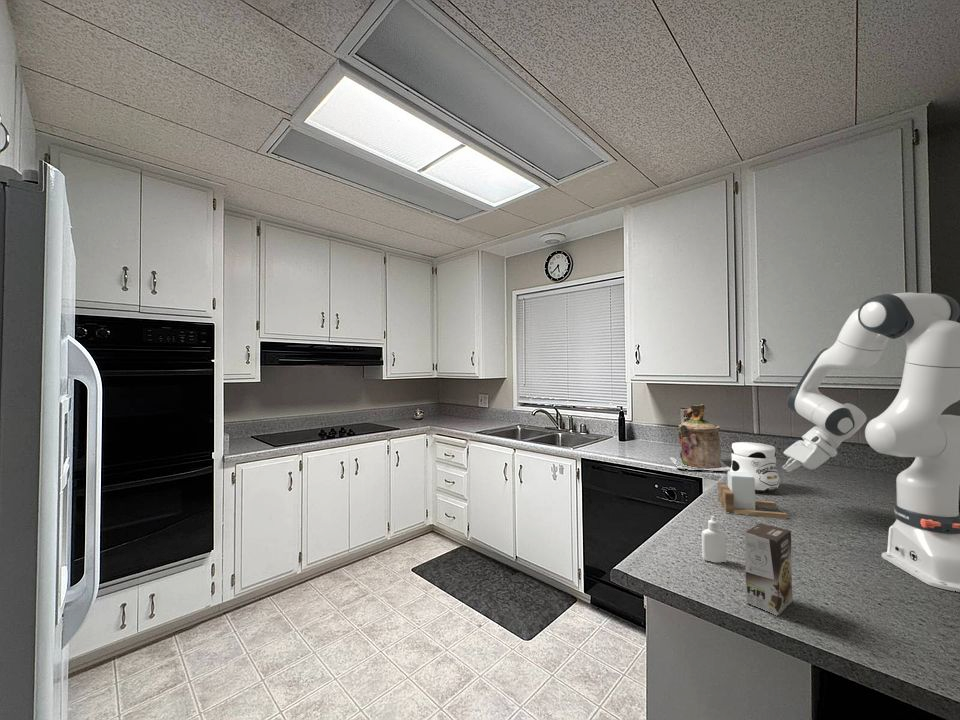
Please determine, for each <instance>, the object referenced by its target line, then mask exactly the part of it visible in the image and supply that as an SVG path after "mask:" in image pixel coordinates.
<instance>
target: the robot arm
mask: <svg viewBox="0 0 960 720" xmlns="http://www.w3.org/2000/svg"><path fill="white" fill-rule="evenodd" d="M959 316H960V305H959V303H958V302H957V300H955V299H954V298H953V297H952V296H949V295H947V294H944V293H937V292H926V293H924V292H911V291H909V292H897V293H887V294H886V293H883V294H878V295H876V296H875V295H874V296H873V297H870V298H868V299H866V300H864V301H863V302H862V303H861V305H860V306H859V308H857V309H855V310H854V311H852V313H851V314H850V315H849V316H848V318H847V320H845V323H843V326H842V327H841V330H840V331H839V333H838V336H837V338H836V340H835V341H834V343H833V345H831V346H830V347H827V348H823V349H822V350H820V351H819V353H817V355H816V356H815V357H814V358H813V360H812V362H810V364H809V366H808V367H807V369H806V370H805V373H803V375H802V377H801V379H800V380H799V382H798V383H797V385H796V386H795V387H794V388H793V389H792V390H791V391H790V393H788V395H787V397H786V404H787V408H788V409H789V411H791V412H792V413H794V414H797V415H798V416H801V417H802V418H803V419H806V420H808V421H809V422H811V423H812V424H814V425H815V426H813V427H812V428H810V429H809V430H808V431H807V432H806V433H804V434H803V435H802V436H801V439H802V440H800V439H799V440H796V441H795V442H794V443H792V444H791V445H790V446H789V447H787V448H786V449H785V450H784V451H783V455H785V456H786V457H787V458H788V459H787V461H786V463H785V464H784V465H782V469H783V470H784V471H786V472H788V473H791V472H792V471H794V470H795V469H797V468H800V467H801V466H803V467H804V468H806V469H809V470H811V471H812V470H815V469H817V468H818V467H820V466H822V464H824V463H826V462H827V461H828V460H829V459H831V458H834V457H835V456H837V455H838V451H837V449H838V448H839V447H840V445H841V444H842V443H843V441H846V440H848V439H850V438H851V437H852V436H853V435H855V433H857V432H858V431H859V430H860V429H861V427H862V426H863V425H864V424H865V423H866V421H867V419H868V418H867V415H866V414H865V412H864V411H863V410H862V409H861V408H859V407H858V406H856V405H854V404H853V403H849V402H847V403H844V404H843V403H840V402H838V401H836V400H835V399H832V398H830V397H828V396H827V395H824V394H823V393H822V392H820V390H819V386H820V385H821V384H822V382H823V380H824V379H825V378H826V377H827V375H828V373H829V372H830V371H831V370H840V371H860V370H861V371H862V370H865V369H869V368H870V367H872V366H874V365H876V364H877V363H878V361H879V360H880V358H881V357H882V355H883V353H884V351H885V349H886V347H887V344H888V342H889V340H890V339H891V340H895V339H898V338H902V339H903V340H904V341H905V343H906V354H905V360H904V361H905V362H904V367H903V372H902V377H901V378H902V379H901V382H900V383H901V384H900V387H899V390H898V393H897V394H896V396H895V398H894V400H893V401H892V402H891V404H890V405H889V406H888V407H887V408H886V409H885V410H884V411H883V412H882V413H881V414H879V415H878V416H876V417H874V418H872V419H870V420H869V421H868V423H867V424H866V426H865V428H864V436H865V440H866V442H867V444H868V445H869V446H870V448H871V449H873V450H874V451H875V452H877V453H879V454H884V455H887V456H892V457H899V458H914V461H913V462H912V463H911V465H910V466H909V467H908V468H906V469H904V470H902V471H901V472H900V473H898V474H897V476H896V478H895V479H896V480H895V481H896V482H895V483H896V502H895V504H894V508H893V512H894V518H895V521H894V522H893V524H892V525H890V526H889V527H888V535H887V536H888V538H887V551H884V552H881V556H880V557H881V558H882V559H883V560H885V561H887V562H889V563H890V564H892V565H894V567H895V566H896V567H897V568H899V569H901V570H903V571H904V572H906V573H908V574H909V575H911V576H913V578H915V579H918V580H919V581H920V582H923V583H925V584H926V585H928V586H931V587H935V588H938V589H942V590H947V591H951V592H955V591H956V593H960V512H959V511H960V510H959V505H960V504H959V503H960V415H954V414H943V412H944V411H945V410H946V409H948V407H950V406H952V405H953V404H955V403H957V402H960V322H957V320H958V319H959Z"/></svg>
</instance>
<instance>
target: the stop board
mask: <svg viewBox="0 0 960 720" xmlns="http://www.w3.org/2000/svg"><path fill="white" fill-rule="evenodd" d="M717 485H718V486H717V488H718V489H717V491H718V495H717V496H718V503H719V502H720V503H721V504H720V503H719V504H720V506H721V505H722V506H721V508H722V507H723V508H724V509H723V508H722V509H723V511H724V510H725V511H726V512H727V510H728V509H730V510H734V494H733V493H732V491H731V490H730V489H729V487H728V484H727V483H724V482H722V483H721V482H718V483H717ZM725 511H724V512H725ZM728 511H729V510H728ZM729 513H731V512H729ZM729 513H728V514H729Z"/></svg>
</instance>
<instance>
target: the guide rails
mask: <svg viewBox="0 0 960 720" xmlns="http://www.w3.org/2000/svg"><path fill="white" fill-rule="evenodd" d="M755 505H758V506H757V507H764V506H768V507H767V508H777V503H776V501H767V500H766V501H765V500H756V499H755ZM728 510H729V511H728ZM728 510H727V512H731V513H738V514H737V515H739V514H748V515H747V516H750V515H754V516H753V517H760V516H764V518H772V519H780V520H781V519H783V520H788V518H789V517H788V516H789V515H788V514H787V512H779V511H778V512H777V511H767V510H766V511H765V510H757V509H755V510H746V509H735V508H734V510H730V509H728Z"/></svg>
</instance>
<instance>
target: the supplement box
mask: <svg viewBox="0 0 960 720" xmlns="http://www.w3.org/2000/svg"><path fill="white" fill-rule="evenodd" d="M727 486H728V487H729V489H730V490H731V491H732V493H733V494H734V508H735V509H746V510H756V506H755V500H756V492H755V478H754V477H753V476H752V475H751V474H750V473H749V472H733V471H728V472H727Z"/></svg>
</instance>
